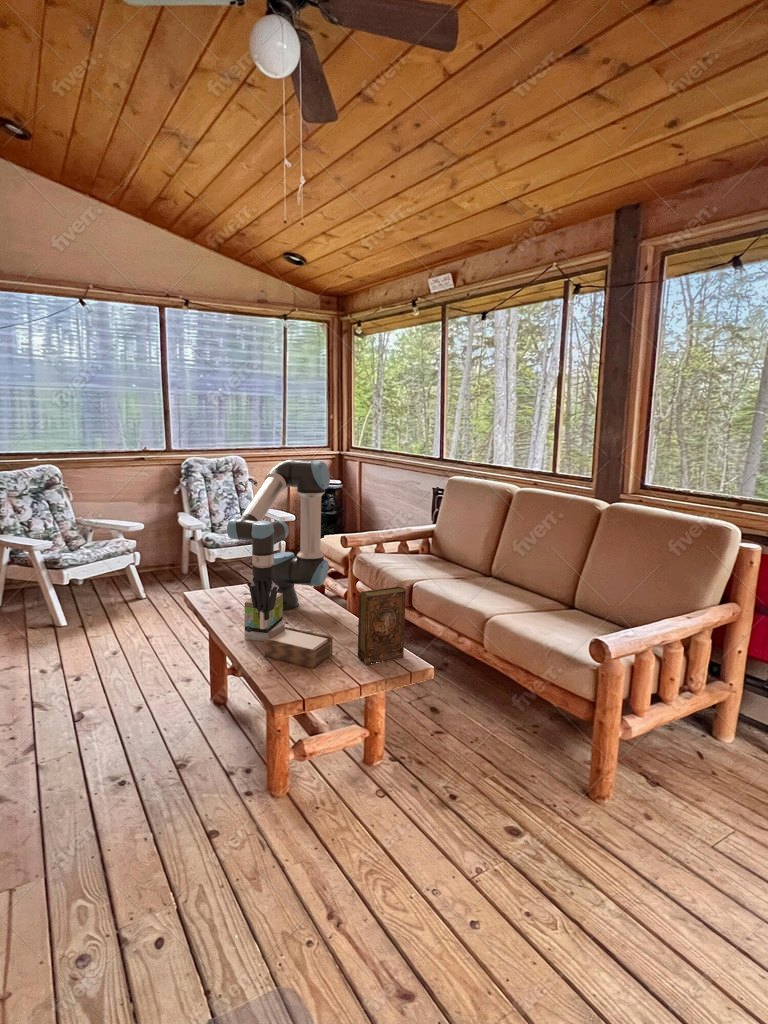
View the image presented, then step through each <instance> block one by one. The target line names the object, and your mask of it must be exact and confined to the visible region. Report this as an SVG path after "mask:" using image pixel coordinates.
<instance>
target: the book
mask: <svg viewBox="0 0 768 1024" xmlns="http://www.w3.org/2000/svg"><path fill="white" fill-rule="evenodd" d="M406 592H407V589H406V588H404V587H401V586H394V587H392V586H391V587H384V588H377V589H371V590H370V589H369V590H364V591H360V592H359V593H358V619H357V620H358V621H357V622H358V624H357V625H358V626H357V627H358V628H357V630H358V631H357V658H358V659H359V660H362V661H363V664H364V665H365V666H367V665H366V664H371V663H376V662H381V663H383V662H382V661H386V662H389V661H388V660H391V661H394V660H393V659H396V660H400V659H399V658H401V659H404V652H405V650H404V648H405V624H406V623H405V621H406V596H407V595H406ZM376 664H377V663H376ZM371 665H372V664H371Z"/></svg>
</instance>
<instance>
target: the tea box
mask: <svg viewBox="0 0 768 1024" xmlns="http://www.w3.org/2000/svg"><path fill="white" fill-rule="evenodd" d="M270 594H271V592H270ZM283 615H284V610H283V593H277V597H276V601H275V606H274V609H273V610H271V611H269V619H268V627H267V628H265V629H260V619H259V618H258V610H257V609H256V608H253V603H252V599H251V597H250V598H249V599H248V600H246V601H245V602H244V633H243V635H244V636H243V637H244V639H245V640H250V641H251V640H252V641H259V642H264V639H269V638H268V631H270V630H272V629H273V628H275V627H277V626H279V625H280V624H284V622H283V619H284V616H283Z"/></svg>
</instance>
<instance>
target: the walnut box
mask: <svg viewBox="0 0 768 1024" xmlns="http://www.w3.org/2000/svg"><path fill="white" fill-rule="evenodd" d="M285 629H286V630H291V631H295V632H300V633H305V634H309V635H314V636H318V637H323V638H327V639H328V642H326V643H325V644H324V645H322V646H321V647H319V648H318V649H316V650H315V651H314V650H313V649H308V648H304V647H300V646H296V645H291V644H287V643H283V642H278V641H274V640H270V639H264V641H263V643H264V645H263V646H264V658H266V659H270V660H275V661H279V662H282V663H285V664H286V663H287V664H290V665H291V664H292V665H294V666H299V667H302V668H307V669H311V670H314V669H315V668H317V667H318V666H319V665H320V664H322V663H324V662H325V661H326V660H328V659H329V658H330V657H331V656H333V641H334V640H333V638H334V637H333V636H330V635H325V634H321V633H317V632H312V631H307V630H303V629H297V628H293V627H288V626H285Z"/></svg>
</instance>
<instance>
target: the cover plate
mask: <svg viewBox="0 0 768 1024" xmlns="http://www.w3.org/2000/svg"><path fill="white" fill-rule="evenodd" d="M285 627H286V625H285V623H283V624H280V625H279V626H277V627H275V628H273V629H272V630H270V631H268V638H269V639H270V640H274V641H278V642H283V643H287V644H291V645H296V646H300V647H304V648H308V649H313V650H314V651H315V650H316V649H318V648H319V647H321V646H322V645H324V644H325V643H326V642H328V639H327V638H323V637H318V636H314V635H309V634H305V633H300V632H295V631H291V630H286V629H285Z"/></svg>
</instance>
